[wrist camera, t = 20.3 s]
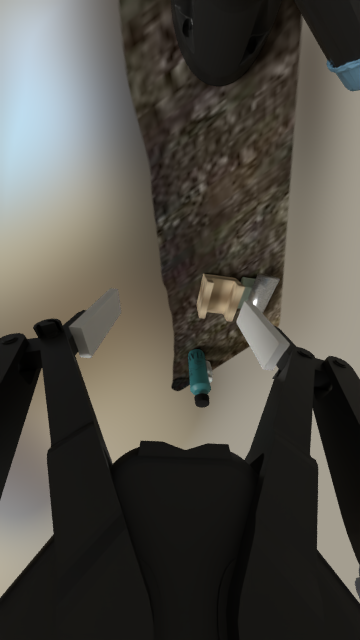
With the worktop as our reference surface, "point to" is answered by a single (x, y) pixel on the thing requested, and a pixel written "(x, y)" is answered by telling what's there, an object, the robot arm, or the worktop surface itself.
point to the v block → (246, 289)
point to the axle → (262, 290)
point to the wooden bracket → (219, 295)
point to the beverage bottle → (199, 377)
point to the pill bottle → (209, 371)
